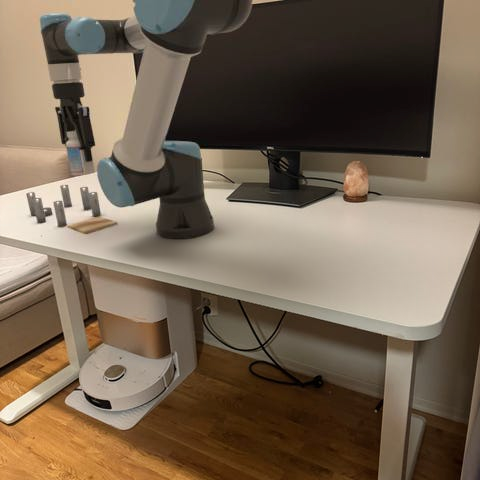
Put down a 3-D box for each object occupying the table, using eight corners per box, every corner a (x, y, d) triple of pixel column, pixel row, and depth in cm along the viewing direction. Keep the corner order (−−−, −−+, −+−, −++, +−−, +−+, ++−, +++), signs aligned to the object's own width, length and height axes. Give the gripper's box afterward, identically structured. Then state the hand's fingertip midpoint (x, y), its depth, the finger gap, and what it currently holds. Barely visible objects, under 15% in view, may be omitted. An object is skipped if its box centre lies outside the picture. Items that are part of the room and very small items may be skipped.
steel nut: (55, 213, 146) (53, 207, 145) (48, 217, 142) (47, 210, 141) (43, 213, 146) (41, 207, 146) (36, 217, 142) (34, 211, 142)
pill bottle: (87, 175, 122) (80, 132, 118) (66, 176, 124) (58, 133, 120) (98, 170, 128) (91, 129, 124) (78, 171, 129) (71, 130, 125)
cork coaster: (117, 224, 131) (117, 222, 131) (85, 234, 124) (85, 232, 124) (99, 218, 137) (98, 216, 137) (67, 227, 131) (67, 225, 131)
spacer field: (108, 213, 141) (104, 191, 139) (53, 229, 130) (48, 205, 127) (75, 203, 155) (71, 183, 152) (23, 217, 143) (18, 195, 141)
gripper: (100, 80, 114) (114, 173, 122) (62, 81, 126) (78, 166, 134) (71, 82, 109) (88, 179, 117) (35, 83, 121) (53, 171, 129)
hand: (83, 172), depth 126 cm, fingers closed on pill bottle, 6 cm apart
